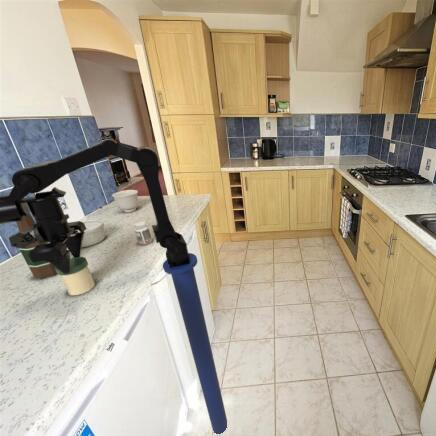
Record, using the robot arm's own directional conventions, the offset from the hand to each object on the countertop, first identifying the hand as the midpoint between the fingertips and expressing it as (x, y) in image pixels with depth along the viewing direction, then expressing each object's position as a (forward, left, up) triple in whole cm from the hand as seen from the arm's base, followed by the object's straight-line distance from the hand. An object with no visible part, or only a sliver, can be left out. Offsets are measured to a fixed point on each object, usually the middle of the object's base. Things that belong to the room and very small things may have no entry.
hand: (72, 265), depth 69 cm
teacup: (-1, -72, -8) cm, 72 cm away
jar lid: (0, 0, 0) cm, 0 cm away
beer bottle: (+13, -15, -8) cm, 22 cm away
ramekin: (+8, -36, -8) cm, 38 cm away
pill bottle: (-14, -25, -8) cm, 30 cm away
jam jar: (0, 0, -8) cm, 8 cm away
